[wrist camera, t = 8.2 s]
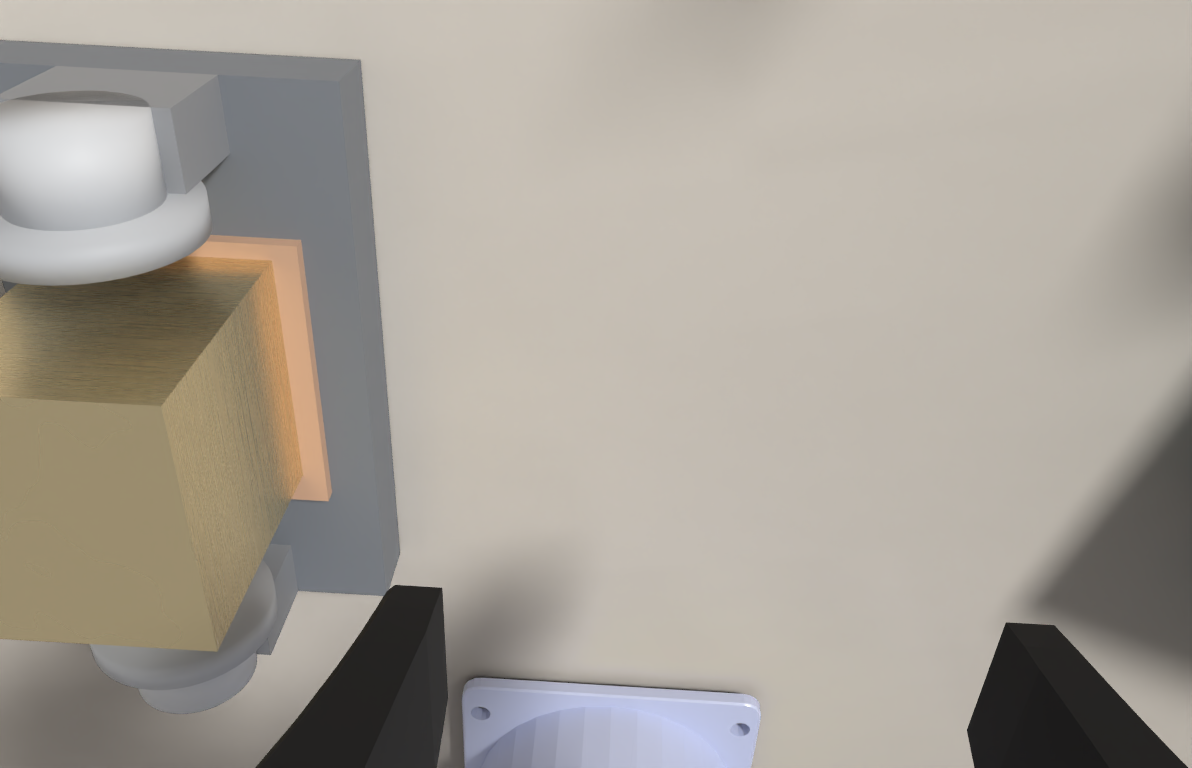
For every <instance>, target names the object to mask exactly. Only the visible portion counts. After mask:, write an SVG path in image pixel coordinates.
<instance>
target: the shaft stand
mask: <svg viewBox="0 0 1192 768" xmlns="http://www.w3.org/2000/svg"><path fill="white" fill-rule="evenodd" d="M186 256H196V257H215V258H233V259H252V260H271V261H272V264H273V271H274V278H275V285H276V292H277V299H278V305H279V312H280V319H281V326H282V333H283V340H284V347H285V354H286V360H287V367H288V374H289V381H290V388H291V395H292V402H293V409H294V415H295V422H296V429H297V436H298V443H299V450H300V457H301V463H302V470H303V476H302V478H301V480H300V482H299V484H298V486H297V489H296V491H295V493H294V495H293V497H292V499H291V501H290V503H289V505H288V507H287V509H286V511H285V513H284V515H283V517H282V519H281V522H280V524H279V526H278V528H277V530H276V532H275V534H274V536H273V538H272V540H271V542H270V544H269V546H268V548H267V550H266V552H265V555H264V557H263V559H262V561H261V563H260V565H259V567H258V569H257V571H256V573H255V575H254V577H253V579H252V581H251V583H250V585H249V588H248V590H247V592H246V594H245V596H244V598H243V600H242V602H241V604H240V606H239V608H238V610H237V612H236V614H235V616H234V618H233V621H232V623H231V625H230V627H229V629H228V631H227V633H226V635H225V637H224V639H223V641H222V643H221V645H220V647H219V649H218V651H217V652H215V651H198V650H181V649H164V648H147V647H130V646H113V645H97V644H90V647H91V651H92V654H93V657H94V659H95V661H96V663H97V665H98V666H99V668H100V669H101V670H102V671H103V672H104V673H105V674H106V675H107V676H109V677H110V678H112V679H113V680H115V681H117V682H119V683H121V684H124V685H126V686H130V687H134V688H138V689H139V692H140V694H141V696H142V698H143V699H144V700H145V702H146V703H148V704H149V705H150V706H152V707H153V708H155V709H157V710H160V711H163V712H167V713H173V714H188V713H195V712H200V711H204V710H208V709H210V708H213V707H216V706H218V705H220V704H222V703H224V702H225V701H227V700H229V699H230V698H232V697H233V696H234V695H236V694H237V693H238V692H239V691H240V690H242V689H243V688H244V686H245V685H246V684H247V683H248V682H249V680H250V679H251V677H252V675H253V673H254V671H255V668H256V664H257V654H264V655H271V653H272V651H273V649H274V646H275V644H276V642H277V639H278V637H279V635H280V632H281V630H282V627H283V625H284V623H285V620H286V618H287V616H288V613H289V611H290V608H291V606H292V604H293V601H294V599H295V597H296V594H297V592H298V591H312V592H328V593H345V594H361V595H377V596H384V595H385V593H386V592H387V591H388V590H389V587H390V584H391V581H392V578H393V574H394V571H395V568H396V565H397V562H398V558H399V555H400V547H399V534H398V522H397V509H396V497H395V484H394V472H393V459H392V447H391V434H390V422H389V409H388V397H387V384H386V372H385V359H384V347H383V334H382V322H381V309H380V297H379V284H378V272H377V259H376V247H375V234H374V222H373V209H372V197H371V184H370V172H369V159H368V147H367V134H366V122H365V109H364V97H363V84H362V72H361V60H352V59H334V58H316V57H297V56H279V55H261V54H243V53H225V52H207V51H188V50H170V49H152V48H134V47H116V46H97V45H79V44H61V43H43V42H25V41H6V40H0V280H2V282H3V285H4V288H5V292H6V293H7V292H8V291H9V290H11V289H12V288H13V287H14V286H15V285H17V284H18V283H19V284H28V285H46V286H59V285H79V284H90V283H97V282H105V281H111V280H116V279H122V278H126V277H130V276H135V275H139V274H142V273H146V272H149V271H152V270H155V269H158V268H161V267H164V266H167V265H169V264H171V263H174V262H176V261H178V260H180V259H182V258H184V257H186Z"/></svg>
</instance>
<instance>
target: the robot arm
mask: <svg viewBox="0 0 1192 768" xmlns="http://www.w3.org/2000/svg"><path fill="white" fill-rule="evenodd" d="M447 700H448V691H447V671H446V652H445V633H444V613H443V594H442V588H435V587H419V586H402V585H395V586H393V587H392V588H390V589H389V590H388V591H387V592H386V593H385V595H384V597H383V598H382V600H381V602H380V603H379V605H378V607H377V608H376V610H375V611H374V613H373V614H372V616H371V618H370V619H369V621H368V622H367V624H366V625H365V627H364V628H363V630H362V631H361V633H360V634H359V636H358V637H357V639H356V640H355V642H354V643H353V644H352V646H351V647H350V649H349V650H348V651H347V653H346V654H345V656H344V657H343V659H342V660H341V661H340V663H339V664H338V666H337V667H336V668H335V670H334V671H333V672H332V674H331V675H330V676H329V678H328V679H327V680H326V682H325V683H324V684H323V685H322V687H321V688H320V689H319V691H318V692H317V693H316V695H315V696H314V697H313V699H312V700H311V701H310V702H309V704H308V705H307V706H306V708H305V709H304V710H303V712H302V713H301V714H300V715H299V717H298V718H297V719H296V720H295V722H294V723H293V724H292V725H291V726H290V728H289V729H288V730H287V731H286V732H285V734H284V735H283V736H282V737H281V738H280V739H279V741H278V742H277V743H276V744H275V745H274V746H273V748H272V749H271V750H270V751H269V752H268V753H267V755H266V756H265V757H264V758H263V759H262V761H261V762H260V763H259V764H258V765H257V766H256V768H437V762H438V756H439V750H440V744H441V738H442V732H443V725H444V719H445V712H446V706H447ZM479 707H484V708H479ZM462 715H463V740H464V764H465V768H751V765H752V760H753V755H754V750H755V745H756V740H757V735H758V730H759V724H760V719H761V712H760V704H759V702H758V700H757V699H756V698H754V697H752V696H751V695H746V694H738V693H722V692H706V691H690V690H674V689H658V688H642V687H626V686H609V685H593V684H577V683H561V682H545V681H529V680H513V679H497V678H474V679H472V680H469V681H468V682H467V683H466V684H465V686H464V690H463V695H462ZM737 723H743V724H737ZM967 732H968V737H969V742H970V747H971V753H972V758H973V763H974V768H1188V767H1187V766H1186V765H1185V764H1184V763H1183V762H1182V761H1181V760H1180V759H1179V758H1178V757H1177V756H1176V755H1175V754H1174V753H1173V752H1172V751H1171V750H1170V749H1169V748H1168V747H1167V746H1166V745H1165V744H1164V742H1163V741H1162V740H1161V739H1160V738H1159V737H1158V736H1157V735H1156V734H1155V733H1154V732H1153V731H1152V730H1151V729H1150V728H1149V727H1148V726H1147V725H1146V724H1145V722H1144V721H1143V720H1142V719H1141V718H1140V717H1139V716H1138V715H1137V714H1136V713H1135V712H1134V711H1133V710H1132V709H1131V708H1130V706H1129V705H1128V704H1127V703H1126V702H1125V701H1124V700H1123V699H1122V698H1121V697H1120V696H1119V695H1118V694H1117V692H1116V691H1115V690H1114V689H1113V688H1112V687H1111V686H1110V685H1109V684H1108V683H1107V682H1106V681H1105V679H1104V678H1103V677H1102V676H1101V675H1100V674H1099V673H1098V672H1097V671H1096V670H1095V669H1094V667H1093V666H1092V665H1091V664H1090V663H1089V662H1088V661H1087V660H1086V659H1085V658H1084V657H1083V655H1082V654H1081V653H1080V652H1079V651H1078V650H1077V649H1076V648H1075V647H1074V646H1073V645H1072V644H1071V643H1070V641H1069V640H1068V639H1067V638H1066V637H1065V636H1064V635H1063V634H1062V633H1061V632H1060V631H1059V630H1058V629H1057V628H1056V627H1055V626H1054V625H1038V624H1022V623H1006V624H1005V627H1004V629H1003V632H1002V635H1001V638H1000V640H999V643H998V646H997V649H996V651H995V654H994V657H993V660H992V663H991V665H990V668H989V671H988V674H987V676H986V679H985V682H984V685H983V687H982V690H981V693H980V696H979V698H978V701H977V704H976V707H975V709H974V712H973V715H972V718H971V720H970V723H969V726H968V729H967Z"/></svg>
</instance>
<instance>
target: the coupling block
mask: <svg viewBox="0 0 1192 768" xmlns="http://www.w3.org/2000/svg"><path fill="white" fill-rule="evenodd" d="M302 476H303V470H302V463H301V457H300V450H299V443H298V436H297V429H296V422H295V415H294V409H293V402H292V395H291V388H290V381H289V374H288V367H287V360H286V354H285V347H284V340H283V333H282V326H281V319H280V312H279V305H278V299H277V292H276V285H275V278H274V271H273V264H272V261H271V260H252V259H233V258H215V257H196V256H186V257H184V258H182V259H180V260H178V261H176V262H174V263H171V264H169V265H167V266H164V267H161V268H158V269H155V270H152V271H149V272H146V273H142V274H139V275H135V276H130V277H126V278H122V279H116V280H111V281H105V282H97V283H90V284H79V285H59V286H46V285H28V284H19V283H18V284H17V285H15V286H14V287H13V288H12V289H11V290H9V291H8V292H7V293H6V294H4V295H3V296H2V297H1V298H0V639H12V640H29V641H46V642H63V643H80V644H97V645H113V646H130V647H147V648H164V649H181V650H198V651H215V652H217V651H218V649H219V647H220V645H221V643H222V641H223V639H224V637H225V635H226V633H227V631H228V629H229V627H230V625H231V623H232V621H233V618H234V616H235V614H236V612H237V610H238V608H239V606H240V604H241V602H242V600H243V598H244V596H245V594H246V592H247V590H248V588H249V585H250V583H251V581H252V579H253V577H254V575H255V573H256V571H257V569H258V567H259V565H260V563H261V561H262V559H263V557H264V555H265V552H266V550H267V548H268V546H269V544H270V542H271V540H272V538H273V536H274V534H275V532H276V530H277V528H278V526H279V524H280V522H281V519H282V517H283V515H284V513H285V511H286V509H287V507H288V505H289V503H290V501H291V499H292V497H293V495H294V493H295V491H296V489H297V486H298V484H299V482H300V480H301V478H302Z"/></svg>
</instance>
